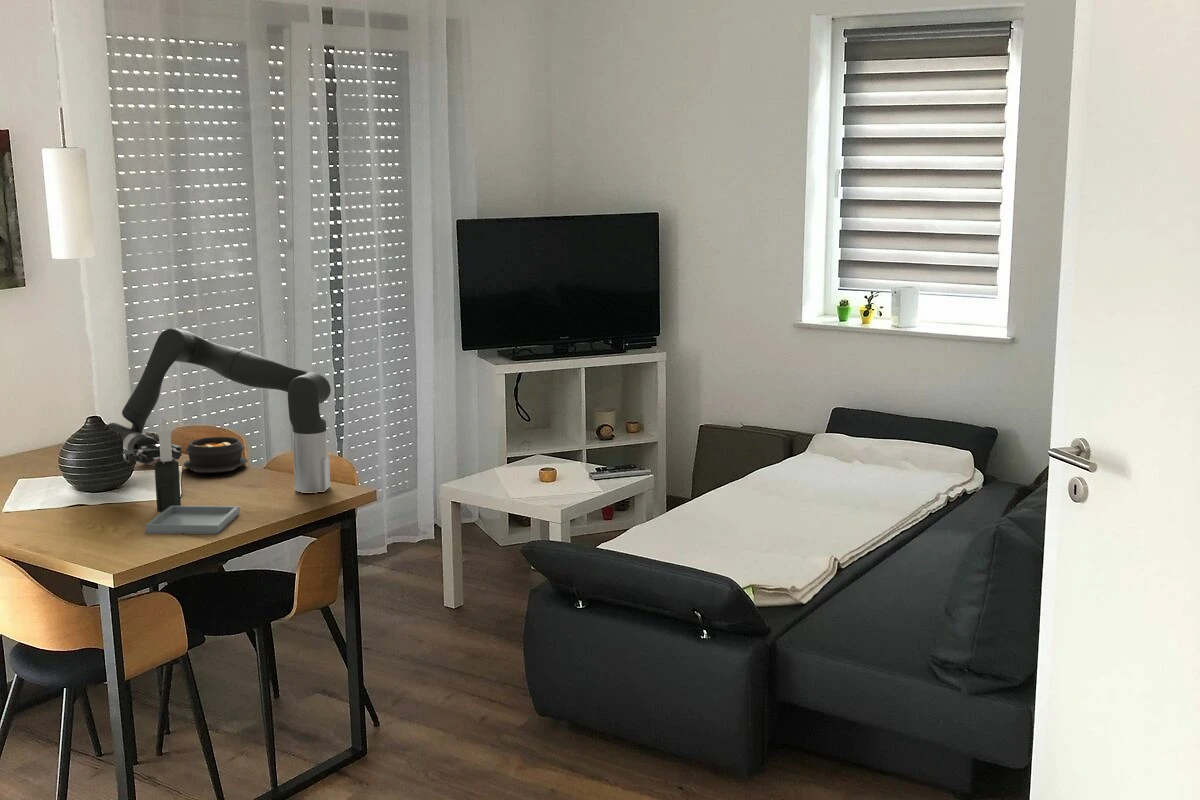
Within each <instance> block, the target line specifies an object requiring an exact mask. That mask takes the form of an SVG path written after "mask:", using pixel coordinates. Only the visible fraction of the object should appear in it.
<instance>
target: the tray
mask: <svg viewBox="0 0 1200 800" xmlns="http://www.w3.org/2000/svg"><path fill="white" fill-rule="evenodd" d="M240 508H241V507H240V505H181V506H170V507H168V508H167V509H166V510H164V511H163V512H159V513H160V514H157V515H156V516H155V517H154V518H152V519H151V520H150V521H149V522H148V523H146V524H145V534H149V535H150V534H153V535H154V534H155V535H156V534H158V535H159V534H162V535H163V534H164V535H165V534H166V535H167V534H169V535H170V534H171V535H174V534H176V535H177V534H178V535H181V534H182V533H184V534H182V535H219V534H221V532H223V530H225V529H226V528H227V527H228V526H229V525H230V524H231V523H232V522H233V521H234V520H235V519H236V518H237V517H239V516H238V514H239V513H240V514H241V509H240ZM236 516H237V517H236ZM235 517H236V518H235ZM234 518H235V519H234ZM233 519H234V520H233ZM232 520H233V521H232ZM231 521H232V522H231ZM230 522H231V523H230ZM229 523H230V524H229ZM228 524H229V525H228ZM227 525H228V526H227ZM226 526H227V527H226ZM225 527H226V528H225ZM224 528H225V529H224Z"/></svg>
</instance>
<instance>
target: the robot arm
mask: <svg viewBox="0 0 1200 800" xmlns="http://www.w3.org/2000/svg"><path fill="white" fill-rule="evenodd" d="M176 362H179V363H186V364H187V363H188V364H193V365H196V366H200V367H204V368H208V369H210V370H212V371H214V372H215V373H216V374H218V375H220V376H222V377H223V378H225V379H227V380H230V381H232V382H235V383H238V384H241V385H244V386H247V387H252V388H258V389H267V390H277V391H282V392H286V393H287V405H288V418H289V422H290V424H291V426H292V443H293V444H292V446H293V470H294V471H293V473H294V474H293V475H294V491H295V490H296V491H299V492H317V491H326V490H327V489H328V488H329V487H330V488H331V470H330V469H331V468H330V464H331V463H330V455H329V454H328V440H327V438H328V436H327V433H328V432H327V421H326V420H325V418H322V417H321V413H320V405H321V404H322V403H324V402H325V401H327V400H328V399H329V397H330V395H331V392H332V390H331V389H332V388H331V385H330V382H329V380H328V379H327V378H326V377H325V376H323V375H322V374H320V373H317V372H313V371H310V370H304V369H300V368H295V367H292V366H288V365H285V364H284V363H283V364H282V363H280V362H279V361H275V360H273V359H269V358H267V357H264V356H261V355H259V354H256V353H253V352H250V351H247V350H243V349H240V348H236V347H234V346H233V347H232V346H228V345H222V344H218V343H215V342H213V341H210V340H207V339H205V338H203V337H201V336H199V335H197V334H195V333H193V332H191V331H188V330H185V329H180V328H176V327H175V328H174V327H172V328H171V327H170V328H167V329H164V330H163V331H161V333H160V334H159V336H158V337H157V339H156V342H155V343H154V346H153V349H152V351H151V353H150V356H149V358H148V361H147V363H146V366H145V368H144V370H143V373H142V375H141V377H140V379H139V382H138V383H137V385H136V387H135V389H134V390H133V392H132V394H131V395H130V396H129V398H128V400H127V402H126V404H125V405H124V407H123V409H122V411H121V415H122V417H123V418H124V419H125V420H127V421H128V422H129V423H131V424H132V425H131V427H128V426H125V425H122V424H120V423H117V422H110V423H108V424H105V426H108V427H109V428H111V429H113V430H115V431H117V432H119V433H120V434H122V435H123V436H124V437H125V438H124V437H122V441H123V449H124V450H123V453H122V455H123V460H124V461H125V462H127V463H128V464H133V463H134V462H135V463H138V464H143V465H148V463H151V462H153V461H154V460H155V459H158V458H160V445H159V443H158V442H157V441H156V440H155V439H154V438H152V437H149V436H147V435H145V433H143V431H144V428H145V425H146V423H147V420H148V418H149V417H150V415H151V413H153V411H154V408H155V407H156V405H157V403H158V400H159V398H160V394H161V389H162V385H163V381H164V379H165V376H166V375H167V373H168V371H169V369H170V368H171V366H172V365H173V364H174V363H176ZM171 448H172V459H175V460H176V461H178V460H180V458H181V457H182V456H183V455H182V453H183V452H182V446H180V445H177V444H174V443H171ZM330 488H329V489H330ZM329 489H328V490H329ZM328 490H327V491H328ZM296 491H295V492H296Z"/></svg>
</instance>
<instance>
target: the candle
mask: <svg viewBox="0 0 1200 800" xmlns="http://www.w3.org/2000/svg"><path fill="white" fill-rule="evenodd" d="M158 433H159V445H160V460H157V463H156V464H154V465H153V466H154V478H155V481H154V482H155V496H156V512H159V513H162V512H163V511H164V510H166V509H167V508H168V507H170V506H182V502H181V486H180V485H181V483H180V467H179V466H180V465H179V461H178V460H176V459H174V458H172V448H171V444H172V436H171V435H172V433H171V429H170V427H169V426H168V423H167V422H166V417H162V421H161V425H160V427H159V429H158Z"/></svg>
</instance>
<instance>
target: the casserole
mask: <svg viewBox="0 0 1200 800" xmlns="http://www.w3.org/2000/svg"><path fill="white" fill-rule="evenodd" d="M244 449H245V446H244V445H243V443H242V442H241V440H240V439H239V438H236V437H231V436H229V437H228V436H212V437H204V438H198V439H195V440H192V441H190V442H189V443H188V445H187V448H186V449H185V452H186V454H188V460H186V461H184V463H183V466H184V467H185V468H187V469H189V470H191V471H192V472H194V473H200V474H215V473H226V472H233V471H234V470H236V469H237V468H239V467H241V466H244V465H245V464H247V463H248V459H247V458H246V457H243V456H242V454H243V453H242V452H243V450H244Z"/></svg>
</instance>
